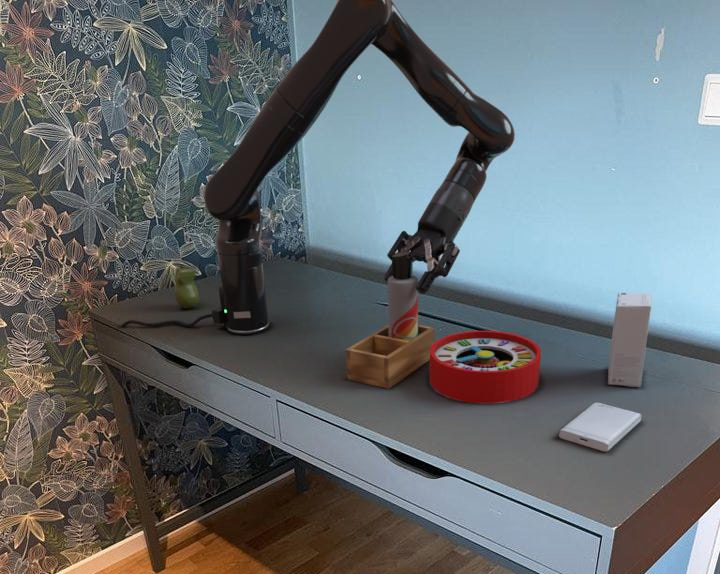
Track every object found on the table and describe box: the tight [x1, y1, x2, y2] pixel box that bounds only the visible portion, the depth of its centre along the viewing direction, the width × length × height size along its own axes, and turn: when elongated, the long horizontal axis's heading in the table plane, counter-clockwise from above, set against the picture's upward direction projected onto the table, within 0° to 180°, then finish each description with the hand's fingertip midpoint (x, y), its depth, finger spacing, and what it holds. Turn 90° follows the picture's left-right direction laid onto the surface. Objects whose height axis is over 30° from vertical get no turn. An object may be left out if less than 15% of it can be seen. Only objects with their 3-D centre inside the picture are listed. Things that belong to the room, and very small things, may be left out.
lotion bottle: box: [387, 251, 419, 341], centre depth 147 cm, size 6×6×20 cm
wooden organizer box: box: [345, 324, 436, 390], centre depth 148 cm, size 9×18×6 cm, turn 147°
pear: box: [174, 265, 200, 310], centre depth 183 cm, size 6×5×10 cm
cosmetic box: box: [607, 292, 653, 388], centre depth 138 cm, size 8×6×15 cm
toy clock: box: [428, 330, 542, 405], centre depth 141 cm, size 20×6×20 cm
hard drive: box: [558, 402, 642, 453], centre depth 124 cm, size 2×8×12 cm
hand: (403, 287), depth 145 cm, fingers open, 8 cm apart
